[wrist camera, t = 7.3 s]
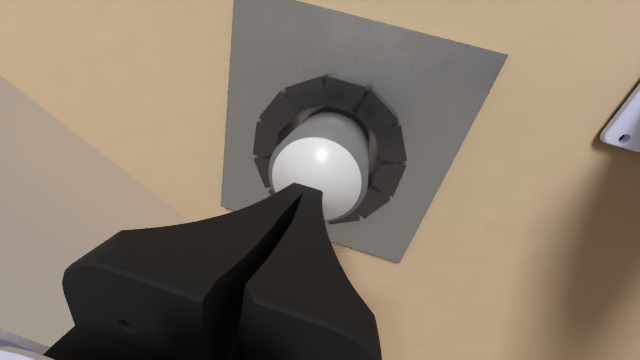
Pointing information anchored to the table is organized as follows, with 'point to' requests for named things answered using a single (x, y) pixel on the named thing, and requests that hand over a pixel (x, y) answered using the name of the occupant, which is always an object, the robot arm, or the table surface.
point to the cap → (325, 160)
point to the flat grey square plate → (351, 108)
